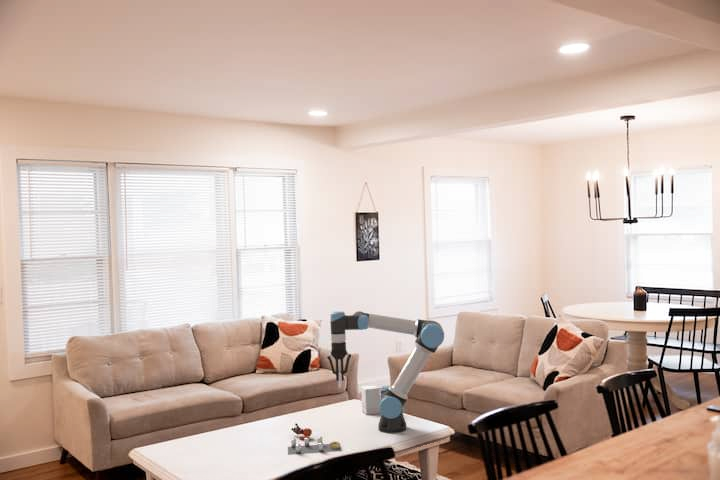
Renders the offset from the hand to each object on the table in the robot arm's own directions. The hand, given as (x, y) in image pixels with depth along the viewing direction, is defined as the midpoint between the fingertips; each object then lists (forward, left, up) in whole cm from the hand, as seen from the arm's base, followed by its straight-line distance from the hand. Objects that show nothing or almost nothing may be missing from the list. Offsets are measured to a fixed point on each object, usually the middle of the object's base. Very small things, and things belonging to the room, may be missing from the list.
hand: (340, 386), depth 344 cm
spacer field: (+19, +18, -26) cm, 36 cm away
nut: (+5, +18, -26) cm, 32 cm away
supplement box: (-21, -43, -27) cm, 55 cm away
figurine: (+21, -3, -27) cm, 34 cm away
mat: (+15, +18, -26) cm, 35 cm away
